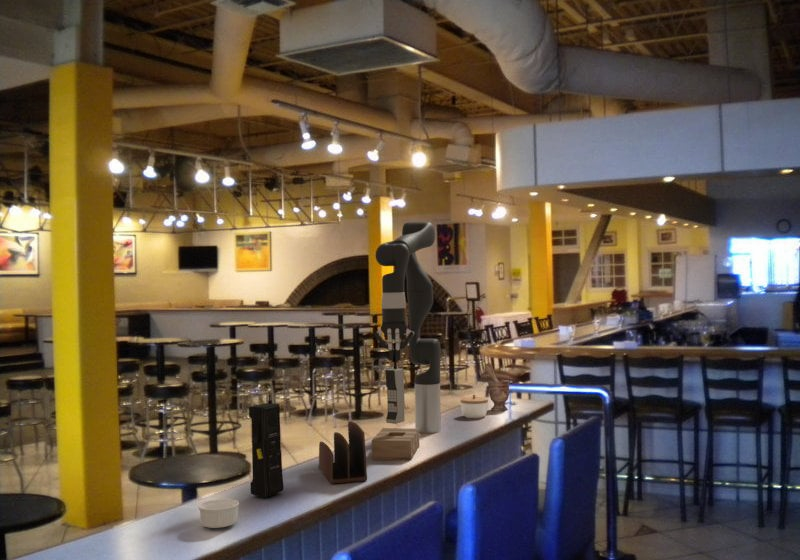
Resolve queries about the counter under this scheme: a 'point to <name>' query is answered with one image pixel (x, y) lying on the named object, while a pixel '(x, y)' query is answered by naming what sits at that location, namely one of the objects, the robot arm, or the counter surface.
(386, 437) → the walnut dock rack
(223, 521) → the ramekin
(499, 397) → the mortar and pestle
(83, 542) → the counter surface
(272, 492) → the portable radio
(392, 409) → the vintage mobile phone
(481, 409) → the lidded jar
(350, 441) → the letter holder
